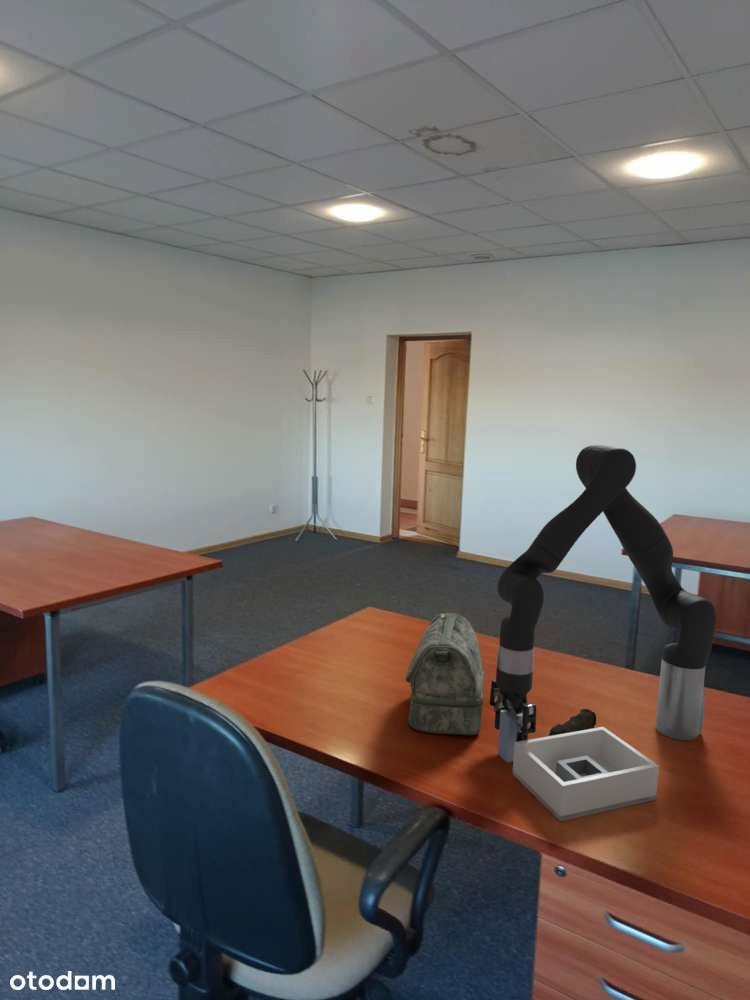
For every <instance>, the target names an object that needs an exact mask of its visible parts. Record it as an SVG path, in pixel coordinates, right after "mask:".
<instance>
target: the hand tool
mask: <svg viewBox="0 0 750 1000" xmlns="http://www.w3.org/2000/svg"><path fill="white" fill-rule="evenodd" d="M596 725H597V714H596V713H595V712H594V711H592V710H591V709H589V708H583V709H581V710H580V711H579V713H578V714H576V715H573V716H570V718H569V719H568V721H566V722H564V723H563V724H560V723H557V724H555V725H554V726H553V727H551V728H550V730H549V734H548V736H553V735H559V734H565V733H570V732H576V731H582V730H587V729H588V728H589V727H592V728H593V727H594V728H595V726H596Z"/></svg>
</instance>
